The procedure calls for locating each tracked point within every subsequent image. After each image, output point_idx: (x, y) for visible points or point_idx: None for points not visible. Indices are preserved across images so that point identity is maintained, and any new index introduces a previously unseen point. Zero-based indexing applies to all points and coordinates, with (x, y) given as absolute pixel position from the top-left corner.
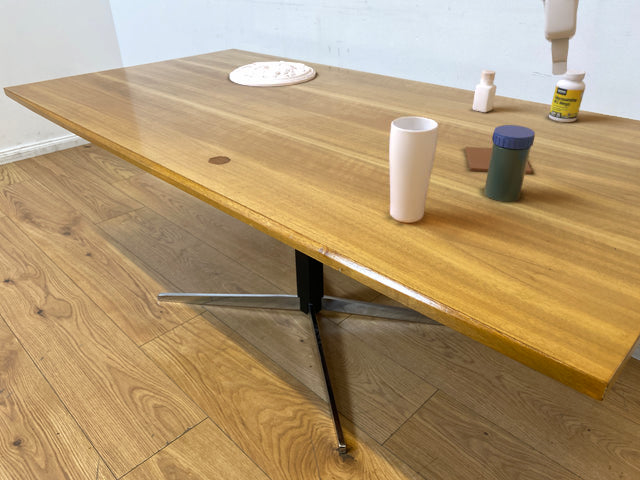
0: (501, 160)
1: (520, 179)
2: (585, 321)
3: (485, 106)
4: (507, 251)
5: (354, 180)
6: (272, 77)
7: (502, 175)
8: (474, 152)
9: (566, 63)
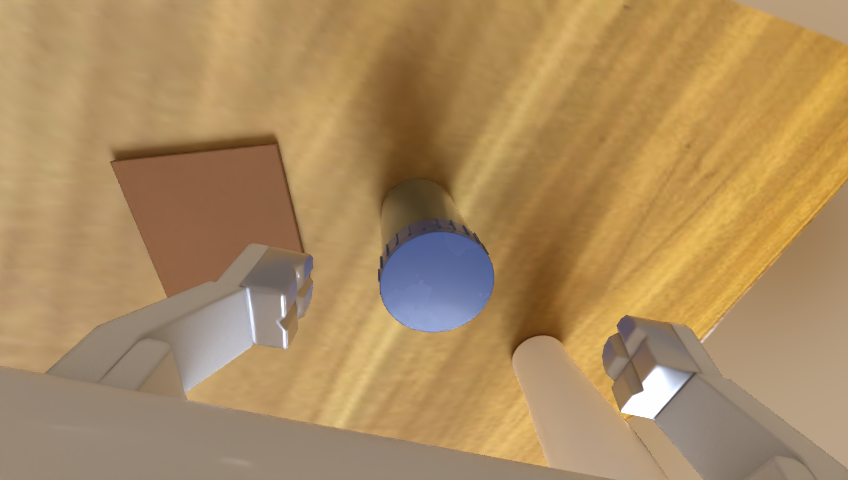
0: None
1: (451, 202)
2: (812, 111)
3: None
4: (636, 208)
5: (420, 442)
6: None
7: None
8: (201, 279)
9: (710, 362)
